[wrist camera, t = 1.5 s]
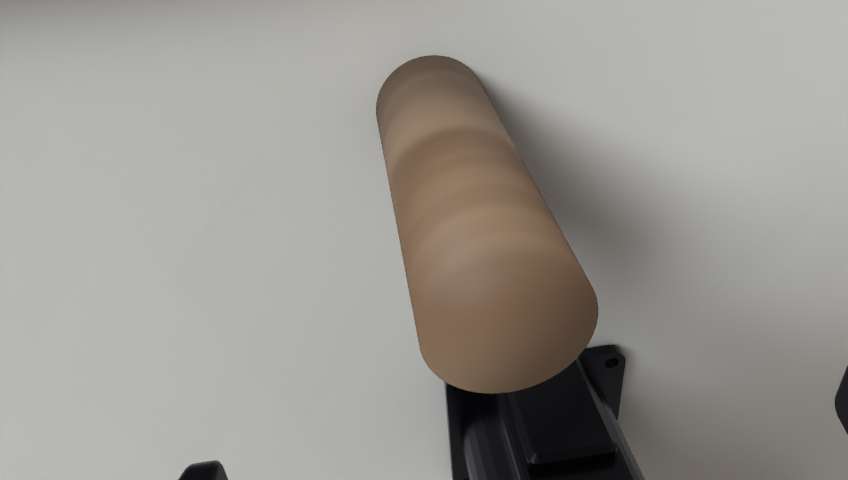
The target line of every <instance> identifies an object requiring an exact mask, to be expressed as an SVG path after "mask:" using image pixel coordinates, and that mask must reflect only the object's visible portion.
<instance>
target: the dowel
mask: <svg viewBox="0 0 848 480" xmlns="http://www.w3.org/2000/svg"><path fill="white" fill-rule="evenodd" d="M376 117H377V122H378V127H379V133H380V138H381V143H382V149H383V154H384V159H385V165H386V170H387V175H388V181H389V186H390V191H391V197H392V202H393V207H394V213H395V218H396V223H397V229H398V234H399V239H400V245H401V250H402V255H403V261H404V266H405V271H406V277H407V282H408V287H409V293H410V298H411V303H412V309H413V314H414V319H415V325H416V330H417V335H418V341H419V346H420V351H421V354H422V356H423V359H424V360H425V362H426V364H427V365H428V367H429V368H430V369H431V370H432V371H433V373H434V374H436V375H437V376H438V377H439V378H440V379H442V380H443V381H445V382H447V383H448V384H450V385H453V386H455V387H457V388H460V389H463V390H466V391H471V392H477V393H488V394H489V393H506V392H513V391H518V390H522V389H525V388H529V387H532V386H534V385H537V384H539V383H542V382H544V381H546V380H548V379H550V378H552V377H553V376H555V375H556V374H558V373H560V372H561V371H562V370H564V369H565V368H566V367H568V366H569V365H570V364H571V363H572V362H573V361H574V360H575V359H577V357H578V356H579V355H580V354H581V353H582V352H583V350H584V349H585V347H586V346H587V345H588V343H589V341H590V339H591V337H592V335H593V333H594V330H595V327H596V324H597V319H598V303H597V298H596V295H595V292H594V289H593V288H592V286H591V284H590V282H589V280H588V279H587V277H586V275H585V273H584V271H583V269H582V268H581V266H580V264H579V262H578V260H577V258H576V257H575V255H574V253H573V251H572V249H571V248H570V246H569V244H568V242H567V240H566V238H565V237H564V235H563V233H562V231H561V229H560V227H559V226H558V224H557V222H556V220H555V218H554V217H553V215H552V213H551V211H550V209H549V207H548V206H547V204H546V202H545V200H544V198H543V196H542V195H541V193H540V191H539V189H538V187H537V185H536V184H535V182H534V180H533V178H532V176H531V175H530V173H529V171H528V169H527V167H526V165H525V164H524V162H523V160H522V158H521V156H520V154H519V153H518V151H517V149H516V147H515V145H514V144H513V142H512V140H511V138H510V136H509V134H508V133H507V131H506V129H505V127H504V125H503V123H502V122H501V120H500V118H499V116H498V114H497V112H496V111H495V109H494V107H493V105H492V103H491V102H490V100H489V98H488V96H487V94H486V92H485V91H484V89H483V87H482V85H481V83H480V82H479V80H478V78H477V77H476V75H475V74H474V73H473V72H472V71H471V70H470V69H469V68H468V67H467V66H465V65H464V64H463V63H461V62H459V61H457V60H455V59H452V58H449V57H444V56H436V55H433V56H424V57H419V58H416V59H413V60H410V61H408V62H406V63H404V64H403V65H401V66H400V67H398V68H397V69H396V70H395V71H394V72H393V73H392V74H391V75H390V76H389V77H388V78H387V80H386V81H385V82H384V84H383V86H382V88H381V90H380V92H379V95H378V99H377V105H376Z"/></svg>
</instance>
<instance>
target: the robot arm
mask: <svg viewBox="0 0 848 480" xmlns="http://www.w3.org/2000/svg"><path fill="white" fill-rule="evenodd" d="M610 358H612V359H610ZM608 359H610V360H608ZM624 367H625V357H624V355H623V353H622V351H621V349H620V348H619V347H618V346H615V345H606V346H600V347H593V348H586V349H584V350H583V352H582V353H581V354H580V355H579V356H578V357H577V359H575V360H574V361H573V362H572V363H571V364H570V365H569V366H568V367H566V368H565V369H564V370H562V371H561V372H560V373H558V374H556V375H555V376H553V377H552V378H550V379H548V380H546V381H544V382H542V383H539V384H537V385H534V386H532V387H529V388H525V389H522V390H518V391H513V392H506V393H489V394H488V393H477V392H471V391H466V390H463V389H460V388H457V387H455V386H453V385H450V384H448V383H447V382H445V381H444V383H445V396H446V408H447V421H448V433H449V446H450V458H451V471H452V479H453V480H645V479H644V477H643V475H642V473H641V471H640V469H639V466H638V464H637V462H636V460H635V458H634V456H633V454H632V452H631V449H630V447H629V445H628V443H627V441H626V439H625V437H624V435H623V433H622V430H621V428H620V426H619V424H618V422H617V419H618V412H619V404H620V397H621V390H622V382H623V375H624ZM835 409H836V412H837V415H838V417H839V419H840V421H841V423H842V425H843V427H844V428H845V430H846V432H847V434H848V366H847V368H846V370H845V373H844V376H843V378H842V381H841V383H840V386H839V389H838V391H837V394H836V397H835ZM178 480H228V478H227V476H226V473H225V470H224V468H223V466H222V464H221V463H220V462H219V461H215V460H214V461H207V462H201V463H195V464H192V465H190V466H188V467H187V468H186V469H185V471H184V472H183V473H182V475H181V476H180V478H179V479H178Z"/></svg>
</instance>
